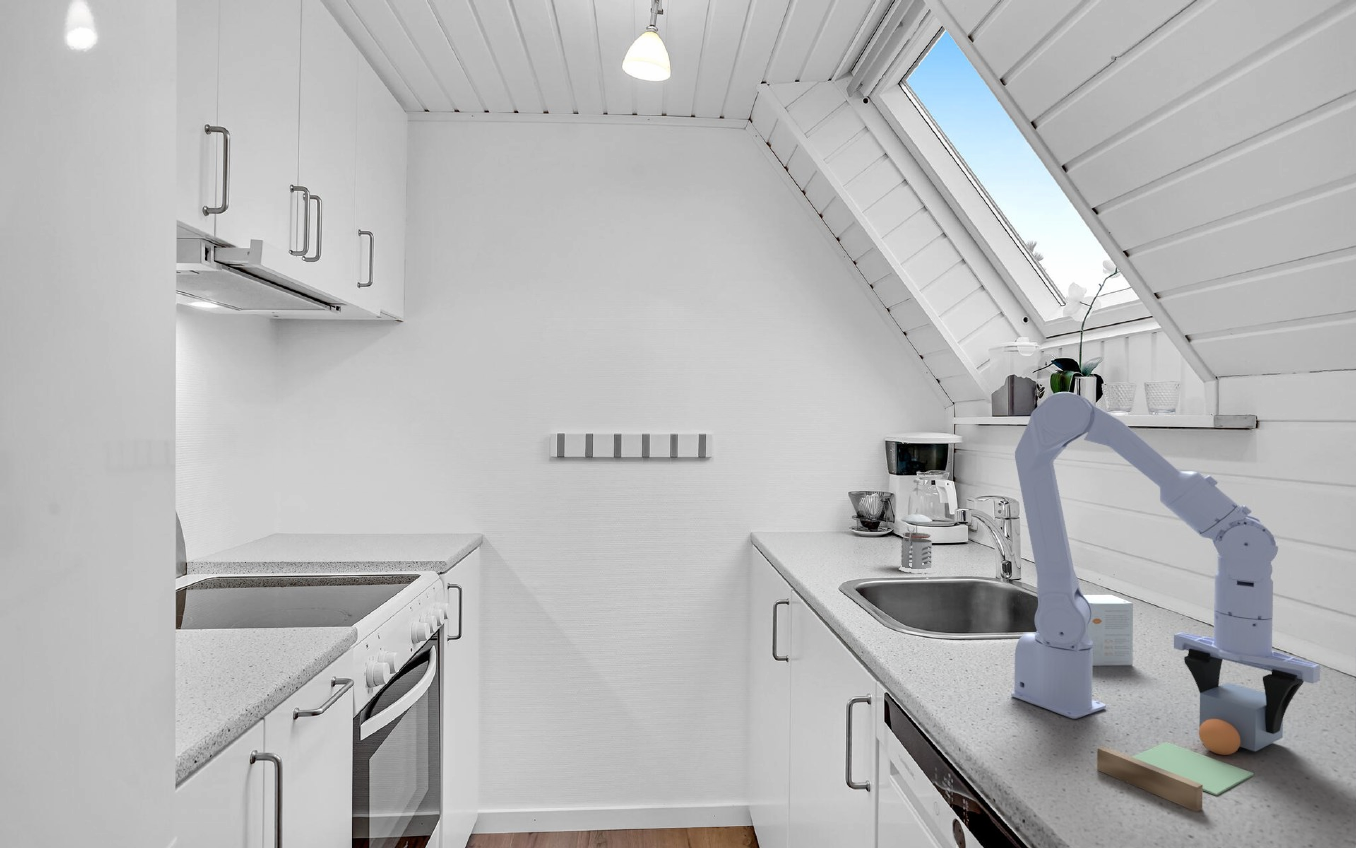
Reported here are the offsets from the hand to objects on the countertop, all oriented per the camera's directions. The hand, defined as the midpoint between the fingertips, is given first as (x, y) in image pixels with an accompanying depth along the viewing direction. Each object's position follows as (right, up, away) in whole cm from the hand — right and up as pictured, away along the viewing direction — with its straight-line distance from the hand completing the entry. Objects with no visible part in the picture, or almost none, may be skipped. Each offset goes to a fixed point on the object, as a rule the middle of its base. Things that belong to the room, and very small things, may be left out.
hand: (1241, 721), depth 88 cm
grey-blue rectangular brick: (0, -2, 0) cm, 2 cm away
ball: (-5, -1, -3) cm, 6 cm away
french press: (-7, -3, +102) cm, 102 cm away
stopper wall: (-20, -2, -12) cm, 23 cm away
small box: (0, -3, +30) cm, 30 cm away
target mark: (-11, -3, -7) cm, 14 cm away
